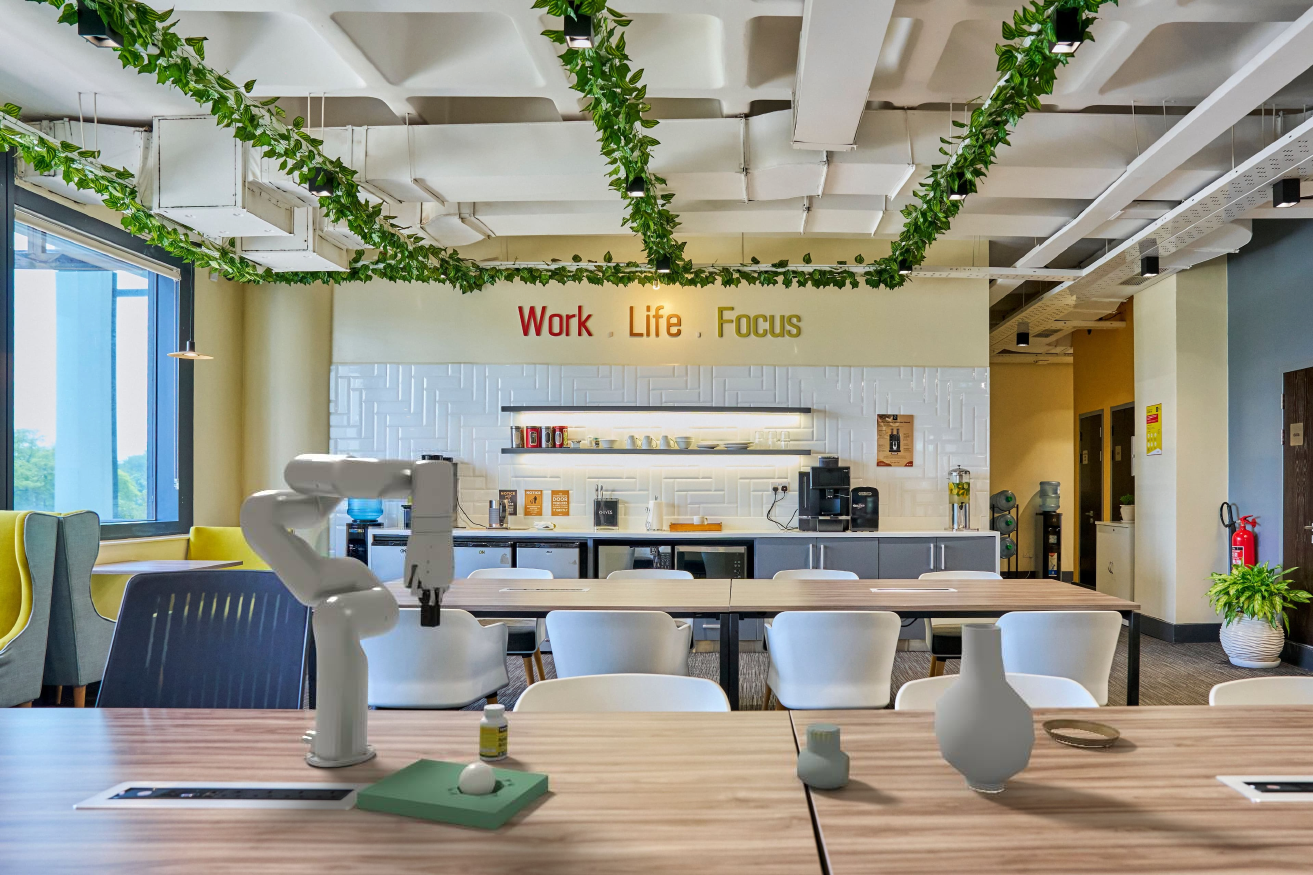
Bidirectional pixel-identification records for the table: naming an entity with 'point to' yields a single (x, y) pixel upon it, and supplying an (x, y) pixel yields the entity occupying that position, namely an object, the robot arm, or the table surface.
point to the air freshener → (823, 758)
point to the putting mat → (451, 794)
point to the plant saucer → (1082, 725)
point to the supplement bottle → (493, 733)
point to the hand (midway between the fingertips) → (430, 625)
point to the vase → (984, 715)
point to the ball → (477, 779)
